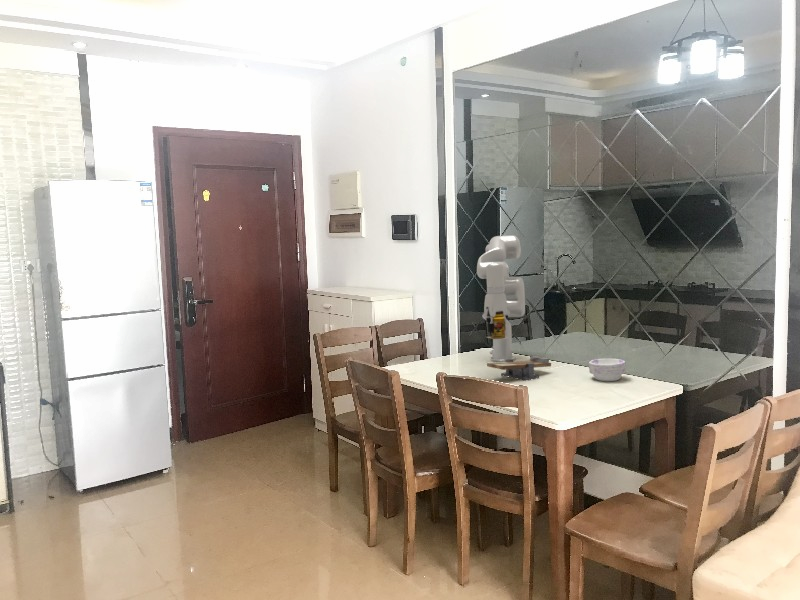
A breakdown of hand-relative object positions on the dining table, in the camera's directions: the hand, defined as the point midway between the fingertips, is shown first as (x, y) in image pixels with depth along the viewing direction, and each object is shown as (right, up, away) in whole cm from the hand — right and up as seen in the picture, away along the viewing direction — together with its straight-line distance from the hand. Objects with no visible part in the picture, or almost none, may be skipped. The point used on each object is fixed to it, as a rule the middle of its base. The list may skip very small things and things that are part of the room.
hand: (496, 330), depth 289 cm
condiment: (0, -3, 0) cm, 3 cm away
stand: (+11, -21, +5) cm, 24 cm away
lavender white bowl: (+47, -21, -7) cm, 52 cm away
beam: (+11, -15, +5) cm, 20 cm away
